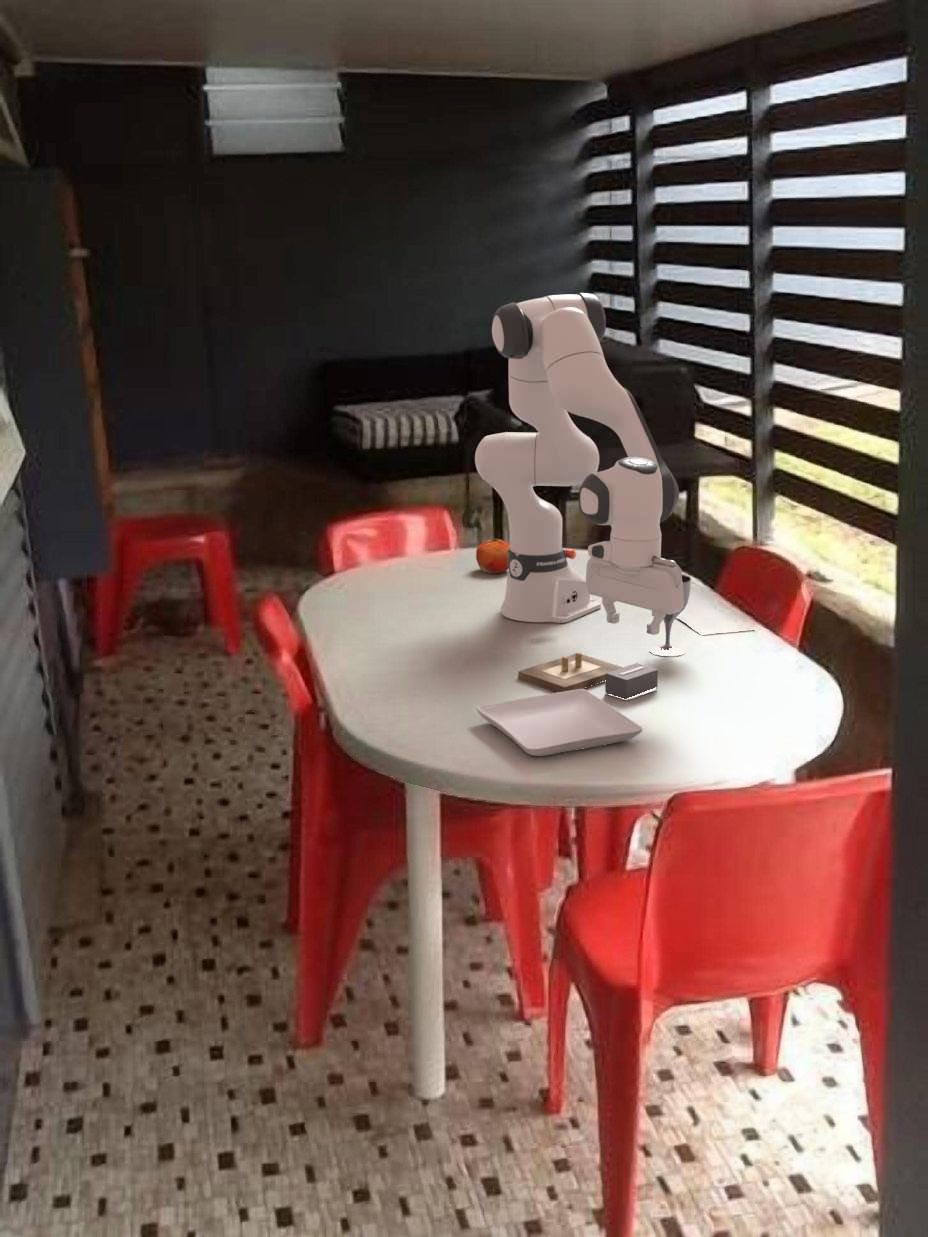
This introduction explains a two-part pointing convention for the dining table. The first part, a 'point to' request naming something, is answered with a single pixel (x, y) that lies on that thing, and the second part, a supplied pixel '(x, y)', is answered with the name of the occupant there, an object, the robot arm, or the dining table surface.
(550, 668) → the pin board
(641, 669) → the socket block
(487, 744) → the dining table surface
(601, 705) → the salad plate
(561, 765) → the dining table surface
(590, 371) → the robot arm
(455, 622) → the dining table surface
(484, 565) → the tomato
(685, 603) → the wine glass
